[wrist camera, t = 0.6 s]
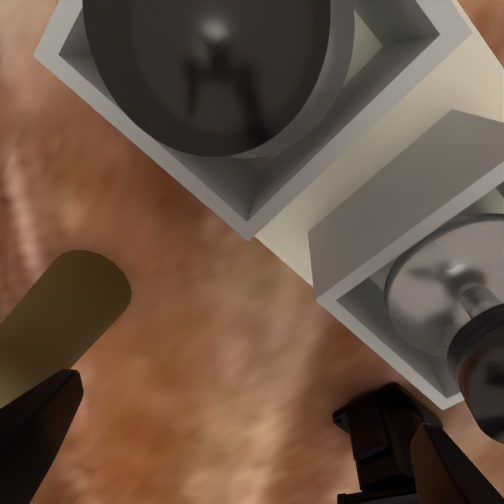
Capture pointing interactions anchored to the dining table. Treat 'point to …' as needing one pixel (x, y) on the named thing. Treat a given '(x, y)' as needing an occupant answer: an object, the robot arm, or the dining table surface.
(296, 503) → the dining table surface
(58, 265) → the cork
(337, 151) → the board
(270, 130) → the plunger
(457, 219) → the plunger
